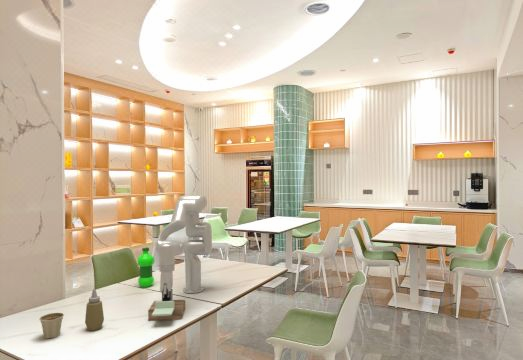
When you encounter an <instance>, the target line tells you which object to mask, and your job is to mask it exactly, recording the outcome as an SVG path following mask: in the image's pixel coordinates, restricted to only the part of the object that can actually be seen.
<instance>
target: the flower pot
mask: <svg viewBox="0 0 523 360" xmlns="http://www.w3.org/2000/svg"><path fill="white" fill-rule="evenodd" d="M64 316H65V313H63V312H52V313H45V314H44V315H41V316H40V317H39V321H40V323H41V328H42V334H43V338H44V339H51V338H52V339H54V338H57V337H59V336H60V335H61V330H62V323H63V322H62V321H63V319H64Z"/></svg>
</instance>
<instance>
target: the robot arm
mask: <svg viewBox="0 0 523 360" xmlns="http://www.w3.org/2000/svg"><path fill="white" fill-rule="evenodd" d="M207 201H208V200H207V197H206V196H205V195H203V194H185V195H181V196H179V197H178V199H177V201H176V202H175V204H174V208H173V211H172V216H171V220H170V222H169V223H168V224H166V226H165V227H164V228H163V229H162V230H161V231H160V233H159V234H158V238H157V241H156V245H155V250H156V253H157V254H158V258H159V259H158V262H159V263H158V264H159V265H158V266H159V268H158V269H159V272H160V281H159V283H160V284H159V285H160V286H159V291H160V293H162V291H163V301H170V297H169V291H170V290H171V289H172V290H173V286H174V285H173V284H174V282H173V281H174V280H173V279H174V278H173V277H174V275H173V273H174V271H175V256H179V255H181V254H182V253H183V252H184V253H183V254H184V259H185V261H184V265H185V266H184V267H185V269H184V270H185V287H184V288H182V292H183V293H185V294H199V293H201V292H203V291H204V289H205V288H204V287H203V286H202V263H201V262H202V261H201V259H200V257H199V256H209V255H211V253H212V250H213V242H212V241H213V237H212V236H213V235H212V226H211V224H210V223H209V222H207V221H206V222H205V221H203V222H202V221H200V213H201V212H202V211H204V210H205V208H206V207H207V203H208V202H207ZM184 229H185V235H186V237H188V238H194V239H188V240H186V241H184V242H183V241H180V240H169V239H168V237H169V236H171V235H172V234H174V233H176V232H179V231H181V230H184ZM195 238H196V239H195ZM199 238H202V239H199ZM167 290H168V291H167ZM167 292H168V294H167Z"/></svg>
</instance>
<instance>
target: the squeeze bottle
mask: <svg viewBox="0 0 523 360" xmlns="http://www.w3.org/2000/svg"><path fill="white" fill-rule="evenodd" d="M84 318H85V320H84V323H85V326H86V328H87V330H88V331H97V330H100V329H102V327H103V324H104V321H105V317H104V308H103V302H102V300H101V297H100V295H98V294H97V289H95V288H94V289H92V293H91V296H90V297H89V298H88V302H87V303H86V309H85V317H84Z"/></svg>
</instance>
